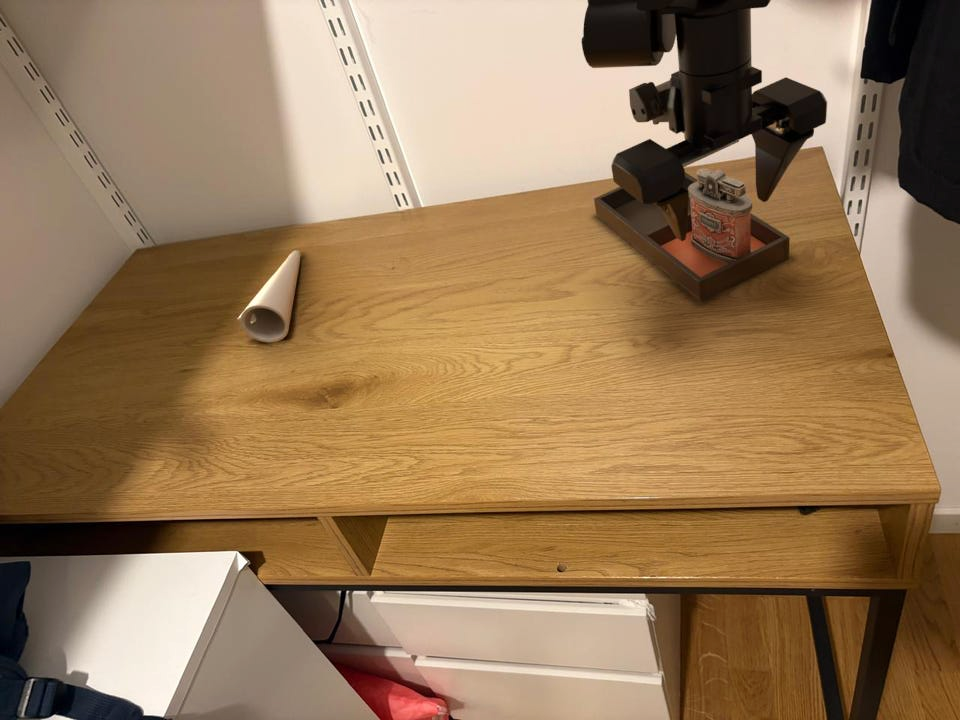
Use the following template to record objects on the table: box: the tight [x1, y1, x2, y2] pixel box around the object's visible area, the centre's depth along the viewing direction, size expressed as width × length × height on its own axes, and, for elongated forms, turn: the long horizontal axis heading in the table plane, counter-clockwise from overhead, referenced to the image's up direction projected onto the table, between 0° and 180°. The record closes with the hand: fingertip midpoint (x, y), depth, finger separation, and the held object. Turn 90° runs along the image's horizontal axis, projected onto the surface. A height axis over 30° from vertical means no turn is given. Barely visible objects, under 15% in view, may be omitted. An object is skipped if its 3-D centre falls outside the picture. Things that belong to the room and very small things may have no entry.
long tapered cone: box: [236, 249, 302, 344], centre depth 101 cm, size 6×6×19 cm
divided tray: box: [593, 171, 791, 303], centre depth 89 cm, size 12×23×3 cm, turn 23°
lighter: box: [688, 168, 753, 264], centre depth 82 cm, size 8×3×10 cm, turn 34°
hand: (722, 219), depth 71 cm, fingers open, 9 cm apart
